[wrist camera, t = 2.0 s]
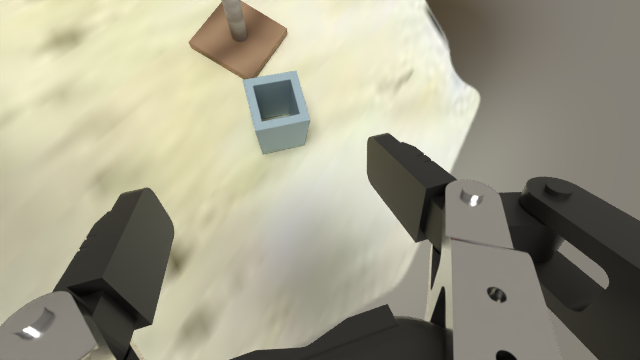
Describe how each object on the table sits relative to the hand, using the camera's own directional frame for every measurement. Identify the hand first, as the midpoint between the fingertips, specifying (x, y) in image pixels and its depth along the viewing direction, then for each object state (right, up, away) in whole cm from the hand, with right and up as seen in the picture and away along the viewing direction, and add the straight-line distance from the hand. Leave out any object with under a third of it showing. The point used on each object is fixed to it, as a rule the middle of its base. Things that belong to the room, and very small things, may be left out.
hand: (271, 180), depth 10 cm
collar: (-4, +7, +27) cm, 28 cm away
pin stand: (-10, +21, +28) cm, 37 cm away
